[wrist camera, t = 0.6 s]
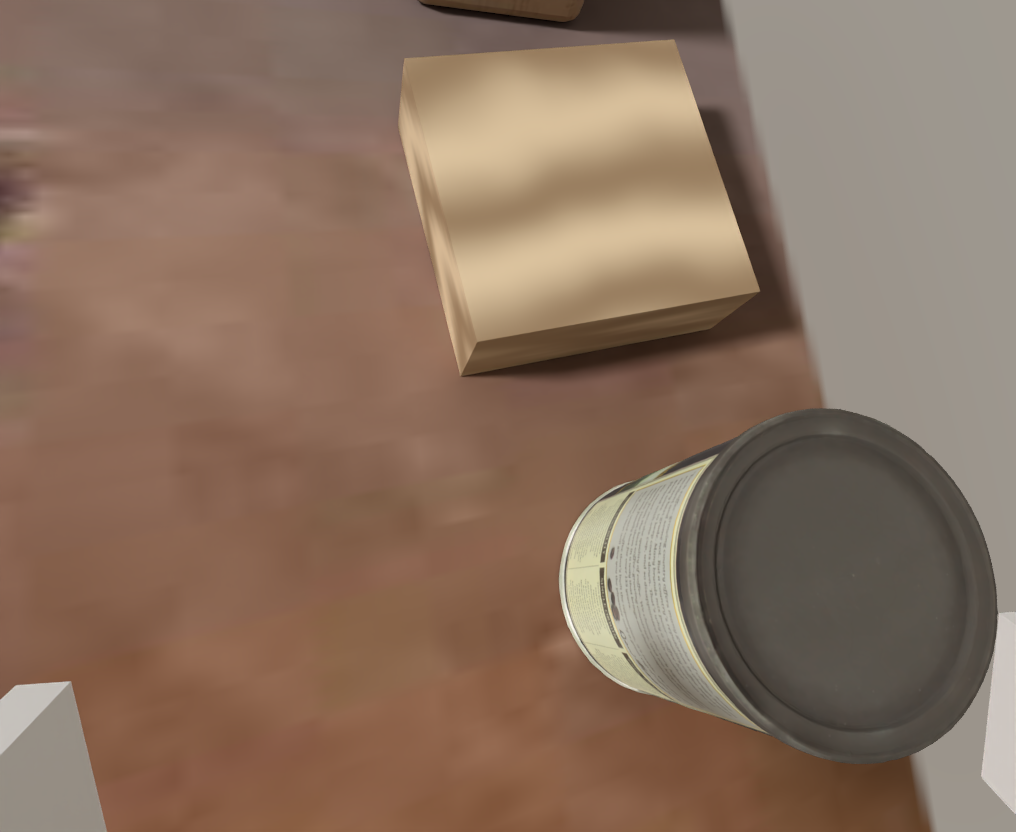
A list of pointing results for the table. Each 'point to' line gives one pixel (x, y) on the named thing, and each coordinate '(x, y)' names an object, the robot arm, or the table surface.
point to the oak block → (568, 200)
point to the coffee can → (792, 587)
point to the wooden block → (519, 7)
